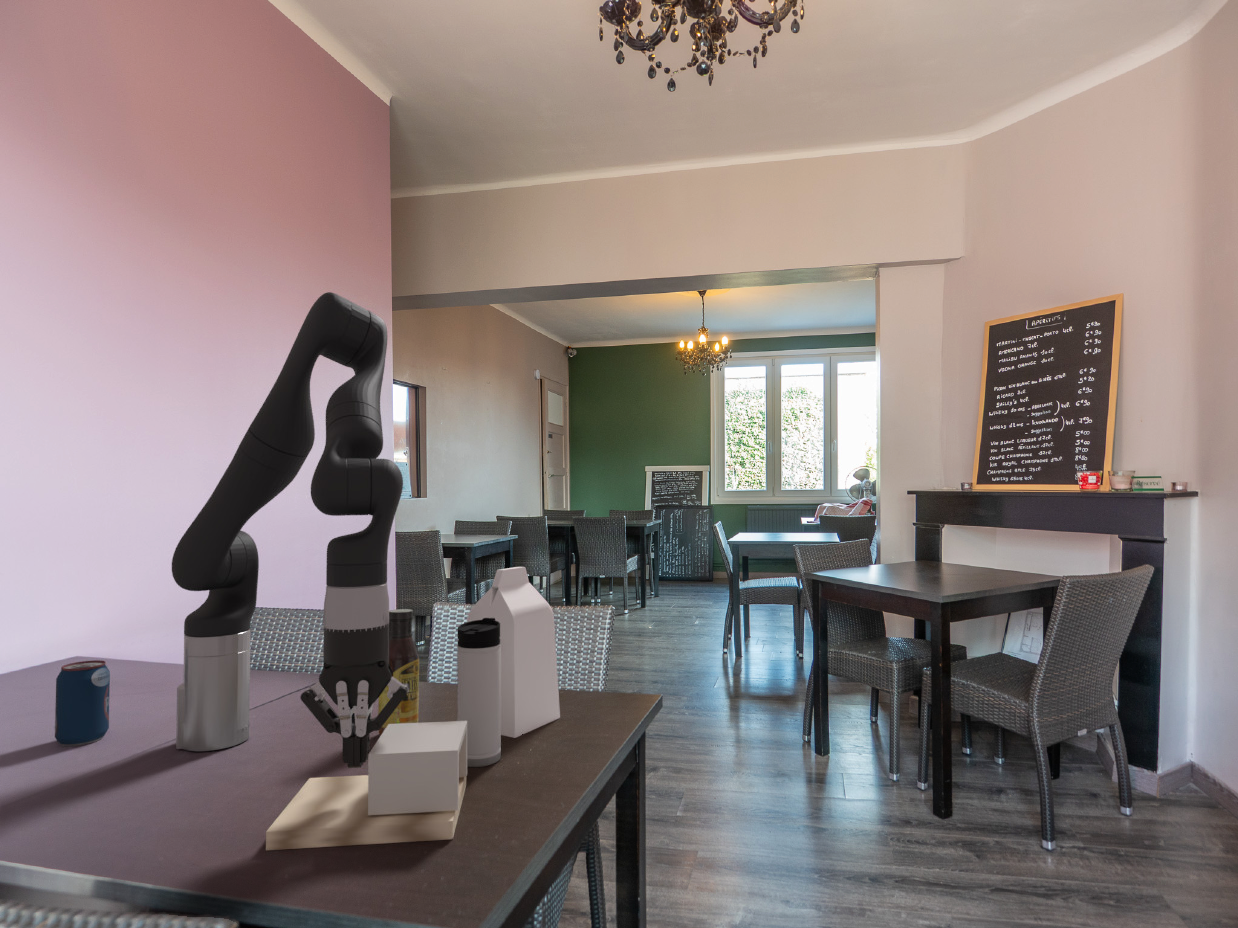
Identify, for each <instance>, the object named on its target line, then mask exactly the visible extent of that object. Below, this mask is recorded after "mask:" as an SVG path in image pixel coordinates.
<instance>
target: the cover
mask: <svg viewBox="0 0 1238 928" xmlns="http://www.w3.org/2000/svg"><path fill="white" fill-rule="evenodd" d="M367 761H368V763H367V764H368V765H367V769H368V770H367V771H368V773H367V775H368V815H383V814H401V813H419V812H437V811H454V810H458V807H459V777H466V778H467V776H468V766H467V721H457V720H452V721H431V722H430V721H429V722H425V721H424V722H418V723H401V724H388V726H387V727H386V729H385V730H384V732H383V733H382V735H381V736H380V735H379V738H378V739H377V741H376V742H375V744H374V745H373V747H372V748H371V750H370V752H369V754H368V759H367Z"/></svg>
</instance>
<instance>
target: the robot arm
mask: <svg viewBox="0 0 1238 928" xmlns="http://www.w3.org/2000/svg"><path fill="white" fill-rule="evenodd" d="M387 329H388V328H387V325H386V322H385V321H384V320H383V318H381V317H380V316H378V315H377V314H376V313H374V312H373V311H370V310H368V309H366V308H364V307H362V306H360V305H358V304H357V303H355V302H352V301H351V300H350V299H347V298H345V297H343V296H341V295H339V294H337V293H335V292H330V291H329V292H325V293H323V294H321V295H320V296H319V297H318V298H317V299H316V300H315V301H314V302H313V304H312V306H311V308H310V309H309V311H308V313H307V314H306V316H305V319H304V320H303V323H302V325H301V327H300V329H299V330H298V331H299V332H298V334H297V336H296V338H295V339H294V342H293V344H292V346H291V348H290V351H289V353H288V356H287V358H286V359H285V361H284V364H283V365H282V368H281V371H280V373H279V375H278V377H277V378H276V381H275V382H274V383H273V386H272V388H271V390H270V391H269V393H268V395H267V396H266V398H265V400H264V402H263V403H262V405H261V407H260V408H259V410H258V412H257V413H256V415H255V417H254V419H253V420H252V422H251V423H250V425H249V427H247V428H248V429H247V431H246V433H245V434H244V436H243V437H242V439H241V441H240V443H239V445H238V447H237V450H236V451H235V453H234V455H233V458H232V459H231V461H230V463H229V465H228V466H227V468H226V469H225V471H224V473H223V475H222V476H221V478H220V480H219V482H218V483H217V484H216V487H215V489H214V490H213V492H212V494H211V495H210V497H209V498H208V500H207V501H206V502H205V504H204V505H203V507H202V508H201V510H200V511H199V512H198V514H197V515H196V516H195V518H194V520H193V521H192V523H191V524H190V525H189V527H188V528H187V530H186V531H185V532H184V533H183V535H182V536H181V538H180V540H178V543H177V545H176V547H175V550H174V552H173V555H172V559H171V576H172V578H173V580H174V582H175V583H176V585H178V587H179V588H182V589H183V590H186V591H190V592H206V591H209V592H208V595H207V598H206V599H205V601H204V602H203V603H202V604H201V605H200V606H199V607H198V608H196V609H195V610H194V611H192V612H191V613H189V614H188V615H187V616H186V617H185V619H184V625H183V674H182V675H183V683H181V684H179V685H178V686H177V688H176V690H177V691H176V736H175V737H176V739H175V746H176V747H175V749H176V750H185V751H190V752H209V751H215V750H217V751H218V750H222V749H227V748H230V747H234V746H236V745H237V746H238V745H239V744H242V743H243V742H245V741H247V740H248V739H249V737H250V699H251V698H250V688H251V687H250V685H251V683H250V682H251V679H250V678H251V621H252V618H253V615H254V613H255V611H256V607H257V598H258V586H259V585H258V581H259V570H260V569H259V567H260V566H259V565H260V564H259V561H260V560H259V551H258V548H257V544H256V542H255V541H254V538H253V537H252V536H251V535H250V534H249V533H247V532H246V531H243V530H242V529H243V527H244V526H245V524H247V523H248V521H249V520H250V519H251V518H252V517H253V516H254V515H255V514H256V513H258V511H260V510H261V509H262V508H263V507H265V506H266V505H268V503H270V502H271V501H272V500H274V498H275V497H277V496H278V495H279V494H281V493H282V492H283V491H284V490H285V489H287V487H288V486H289V485H290V484H291V483H292V482H293V481H294V480H295V478H296V477H297V475H298V474H299V472H300V470H301V468H302V467H303V465H304V463H305V461H306V460H307V458H308V456H309V454H310V453H311V451H312V449H313V446H314V444H315V435H316V434H315V433H316V432H315V419H314V415H313V414H314V413H313V408H312V400H311V379H312V373H313V369H314V367H315V365H316V362H317V360H318V358H319V357H320V356H322V357H324V358H326V359H329V360H331V361H332V362H335V363H338V364H340V365H342V366H344V367H346V368H351V369H352V370H353V372H354V375H353V376H352V377H351V378H349V379H348V380H347V381H345V382H344V383H342V384H341V385H340V386H338V387H337V388H336V389H335V390H334V391H333V393H332V394H331V396H330V397H329V399H328V402H327V405H326V407H325V408H326V409H325V444H324V449H323V451H322V454H321V456H320V458H319V461H318V463H317V465H316V467H315V470H314V472H313V476H312V478H311V484H310V496H311V497H310V498H311V501H312V503H313V505H314V506H315V508H316V509H317V510H318V511H319V512H321V513H322V514H324V515H326V516H332V517H339V516H341V517H342V516H371V517H372V518H371V520H370V522H369V524H368V525H367V526H366V528H364V529H362V530H359V531H357V532H352V533H350V534H349V533H348V534H345V535H340V536H337V537H334V538H332V539H330V540H329V542H328V543H327V546H326V547H327V548H326V567H325V568H326V572H325V573H326V581H325V582H326V583H325V584H326V587H325V595H324V602H323V614H322V623H323V656H322V657H323V658H322V659H323V662H322V663H323V667H322V669H321V672H320V673H319V676H318V681H317V682H316V683H315V684H314V685H312V686H310V687H307V688H306V689H305V690H304V691H303V692H302V693H301V695H300V697H299V698H300V700H301V702H302V703H303V704H304V705H305V707H306V708H307V709H308V710H309V712H310V713H311V714H312V715H313V716H314V718H316V720H317V721H318V722H319V723H320V725H321V726H322V727H323V728H324V730H325V731H326V732H327V733H329V734H333V733H336V734H338V735H340V736H341V738H342V756H341V757H342V762H343V764H347V769H359V768H362V766H363V765H364V763H366V762H367V761H368V754H369V753H370V751H371V750H370V747H371V746H370V741H371V740H370V739H371V738H370V735H371V734H370V733H372V732H377V731H378V732H379V729H380V728H381V727H382V726H383V725H384V723H385V722H386V721H387V719H388V718H389V717H390V716H391V714H392V713H393V712H394V710H395V709H396V708H397V706H398V705H399V704H400V703H401V701H402V700H403V699H404V697H405V696H406V695H407V693H408V692H409V690H410V685H409V684H407V683H403V684H402V683H401V682H399V681H398V680H397V679H395V678H394V677H393V670H392V668H391V667H390V664H389V611H390V597H389V591H388V590H389V589H388V549H389V543H390V535H391V531H392V527H393V523H394V519H395V516H396V513H397V510H398V506H399V504H400V500H401V497H402V493H403V487H404V478H403V475H402V471H401V469H400V467H399V466H398V465H397V464H396V462H394V461H392V460H391V459H387V458H379V456H380V455H381V454H382V451H383V448H384V436H383V435H384V434H383V424H382V414H381V392H382V386H383V382H384V381H383V380H384V374H385V366H386V358H387V357H386V355H387V349H388V348H387V347H388V330H387ZM387 685H388V687H389V691H388V692H387V697H388V698H389V699H390V700H389V701H388V703H387V704H386V705H385V707H384V708H383V709H382V710H381V712H380V713H379V714H378V713H377V716H375V717H372V713H373V708H374V703H376V702H377V700H379V696H380V695H381V693H382V692H383V690H384V689H385V688H386V686H387ZM327 695H328V696H329V697H330V699H331V701H332V702H333V703H334V704H335V705H336V706H337V711H338V713H337V712H336V711H335V710H334V708H333V707H332V706H331V705H330V703H328V701H327V700H326V699H325V698H326V696H327Z"/></svg>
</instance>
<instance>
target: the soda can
mask: <svg viewBox="0 0 1238 928" xmlns="http://www.w3.org/2000/svg"><path fill="white" fill-rule="evenodd" d="M106 663H107V662H106V660H100V659H99V660H94V659H93V660H85V661H84V660H83V661H78V662H77V661H76V662H71V663H66V664H64V665H62V666H61V668H60V669H61V670H60V672H59V674H58V675H57V677H56V679H55V713H54V738H55V740H56V741H57V743H58V744H59V745H60V746H63V747H77V746H78V747H79V746H83V745H89V744H92V743H95V742H98V741H100V740H103V739H104V737H105V735H106V734H107V732H108V730H109V729H110V690H111V689H110V687H111V686H110V680H111V671H110V670H109V668H108V666H107V664H106Z"/></svg>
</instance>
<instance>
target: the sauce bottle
mask: <svg viewBox="0 0 1238 928" xmlns="http://www.w3.org/2000/svg"><path fill="white" fill-rule="evenodd" d="M413 619H414V610H413V609H409V608H402V609H389V664H390V667H391V668H392V670H393V677H394V678H395V679H397V680H398V681H399V682H401V683H402V684H403V683H407V684H409V685H410V690H409V692H408V693H407V695H406V696H405V697H404V699H403V700H402V701H401V703H400V704H399V705H398V706H397V708H396V709H395V710H394V712H393V713H392V714H391V716H390V717H389V718H388V719H387V721H386V722H385V723H384V725H383V726H382V727H381V728H380V729H379V730H378V734H379V737H380V736H381V735H382V733H383V732H384V730H385V729H386V727H387V726H388V724H401V723H419V701H420V700H419V693H420V656H419V654H418V650H417V647H416V644H415V641H414V639H413V633H412V631H413V629H412V628H413V624H412V623H413ZM388 691H389V687H388V685H387V686H386V688H385V689H384V690H383V692H382V693H381V695H380V696H379V697H378V699H377V700H378V705H377V709H378V710H377V715H378V714H379V713H380V712H381V710H382V709H383V708H384V707H385V705H386V704H387V703H388V701H389V700H390V699H389V698H388V697H387V692H388Z"/></svg>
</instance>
